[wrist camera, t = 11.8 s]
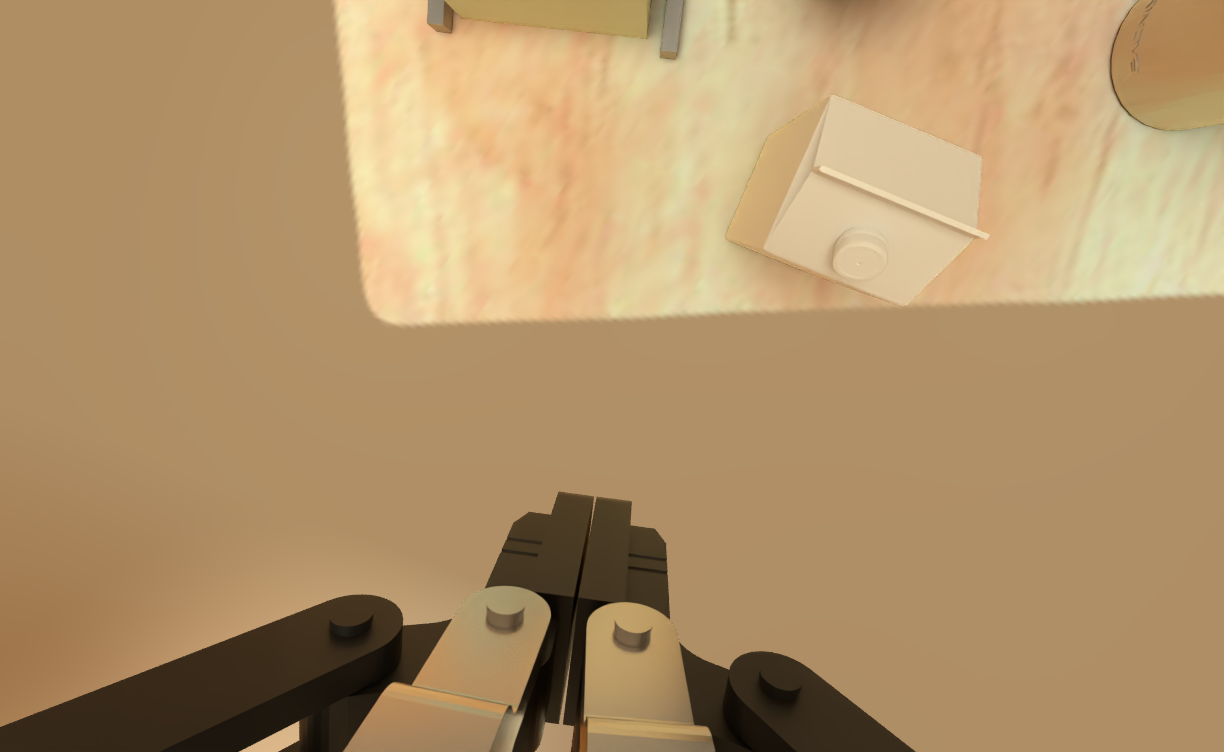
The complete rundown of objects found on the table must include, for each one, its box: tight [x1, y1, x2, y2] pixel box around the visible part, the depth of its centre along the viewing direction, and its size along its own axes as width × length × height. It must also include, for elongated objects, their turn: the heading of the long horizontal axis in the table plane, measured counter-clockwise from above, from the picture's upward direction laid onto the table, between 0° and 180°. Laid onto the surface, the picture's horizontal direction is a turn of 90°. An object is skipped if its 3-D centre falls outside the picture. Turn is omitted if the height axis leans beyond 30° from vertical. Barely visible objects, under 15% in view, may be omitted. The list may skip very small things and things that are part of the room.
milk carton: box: [725, 94, 990, 306], centre depth 33 cm, size 7×7×19 cm
